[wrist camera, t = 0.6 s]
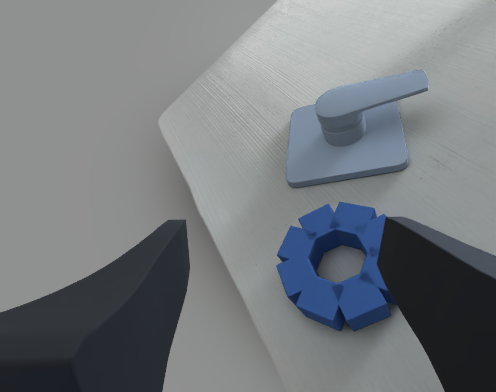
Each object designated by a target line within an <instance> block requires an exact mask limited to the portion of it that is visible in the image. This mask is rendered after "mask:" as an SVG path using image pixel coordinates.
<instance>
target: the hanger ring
mask: <svg viewBox="0 0 496 392" xmlns="http://www.w3.org/2000/svg"><path fill="white" fill-rule="evenodd" d="M385 218H386V215H385V214H383V215H381V216H379V217H376V213H375V209H374V208H371V207H366V206H360V205H355V204H349V203H343V202H339V204H338V206H337V209H336V211H335V213H334V212H333V210H332V208H331V207H330V205H329V204H327V205H325V206H323V207H321V208H319V209H317V210H315V211H312V212H310V213H308V214H306V215H304V216H302V217H300V218H299V221H300V224H301V226H302V228H303V229H302V228H298V227H294V226H290V228H289V230H288V233H287V235H286V237H285V239H284V241H283V243H282V245H281V247H280V249H279V251H278V254H277V256H278V257H279V258H280V260H281V261H282V263H280V264H278V265H277V269H278V272H279V275H280V278H281V280H282V283H283V286H284V289H285V292H286V294H287V297H288V298H289V299H290V300H291V301H292V302H293V303H294V304H295V305H296V307H297V308H298V309H299V310H300V311H301V312H302V313H303V314H304V315H305V316H306V317H308V318H310V319H313V320H315V321H317V322H320V323H322V324H324V325H327V326H329V327H331V328H334V329H336V330H338V331H341V329H342V327H343V324H344V321H345V319H346V321H347V323H348V324H349V326H350V327H351V328H352V330H353V331H356V330H358V329H361V328H363V327H366V326H368V325H370V324H373V323H375V322H377V321H380V320H382V319H384V318H387V317H389V316H391V313H390V310H389V307H388V304H387V302H389V303H392V304H395V305H397V304H396V302H395V301H394V299H393V298H392V296H391V294H390V293H389V291H388V289H387V287H386V285H385V283H384V281H383V279H382V276H381V274H380V271H379V269H378V266H377V260H378V254H379V249H380V244H381V239H382V234H383V228H384V223H385ZM341 244H343V245H347V246H351V247H354V248H358V249H362V251H363V252H364V254H365V255H366V258H365V261H364V264H363V267H362V269H361V272H360V274H358V275H356V276H354V277H351V278H349V279H347V280H345V281H342V282H340V283H335V282H332V281H329V280H326V279H323V278H320V277H319V275H318V273H317V271H316V270H317V268H318V266H319V263H320V261H321V258H322V256H323V254H324V252H326V251H329V250H331V249H333V248H335V247H337V246H339V245H341Z"/></svg>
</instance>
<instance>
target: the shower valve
mask: <svg viewBox="0 0 496 392" xmlns="http://www.w3.org/2000/svg"><path fill="white" fill-rule="evenodd" d="M428 86H429V85H428V77H427V75H426V73H425V72H424V71H423V70H417V71H412V72H408V73H403V74H398V75H393V76H389V77H384V78H379V79H374V80H370V81H365V82H360V83H355V84H350V85H345V86H341V87H337V88H334V89H331V90H329V91H327V92H325V93H324V94H323V95H321V96H320V97H319V98H318V100H317V101H316V103H315V104H313V105H309V106H305V107H302V108H298V109H296V110H294V111H293V112H292V114H291V120H290V132H289V144H288V156H287V168H286V180H287V182H288V183H289V185H290V186H291V187H303V186H309V185H315V184H322V183H328V182H334V181H340V180H346V179H352V178H359V177H365V176H371V175H377V174H383V173H389V172H396V171H400V170H403V169H405V168H406V167H407V165H408V162H409V160H408V152H407V147H406V142H405V138H404V133H403V128H402V123H401V118H400V114H399V109H398V104H397V100H400V99H403V98H407V97H410V96H413V95H416V94H419V93H422V92H425V91H428Z"/></svg>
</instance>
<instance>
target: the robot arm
mask: <svg viewBox="0 0 496 392" xmlns="http://www.w3.org/2000/svg"><path fill="white" fill-rule="evenodd" d="M377 266H378V269H379V271H380V274H381V276H382V279H383V281H384V283H385V285H386V287H387V289H388V291H389V293H390V294H391V296H392V298H393V299H394V301H395V302H396V304H397V306H398V307H399V309H400V311H401V312H402V314H403V315H404V317H405V319H406V320H407V322H408V323H409V325H410V327H411V328H412V330H413V331H414V333H415V335H416V336H417V338H418V339H419V341H420V343H421V344H422V346H423V348H424V350H425V352H426V353H427V355H428V357H429V359H430V361H431V363H432V365H433V367H434V369H435V372H436V374H437V376H438V378H439V380H440V382H441V384H442V386H443V388H444V391H445V392H496V256H494V255H492V254H489V253H487V252H484V251H482V250H480V249H477V248H475V247H472V246H470V245H468V244H465V243H463V242H461V241H458V240H456V239H454V238H452V237H450V236H447V235H445V234H443V233H441V232H439V231H436V230H434V229H432V228H430V227H427V226H425V225H423V224H421V223H418V222H416V221H413V220H411V219H408V218H405V217H386V218H385V223H384V228H383V234H382V239H381V244H380V249H379V254H378V260H377ZM189 271H190V263H189V250H188V239H187V228H186V220H168V221H166V222H165V223H164V224H162V225H161V226H160V227H159V228H158V229H156V230H155V231H154V232H153V233H151V234H150V235H149V236H148V237H146V238H145V239H144V240H143V241H141V242H140V243H139V244H137V245H136V246H135V247H134V248H132V249H131V250H129V251H128V252H126V253H125V254H123V255H122V256H121V257H119V258H118V259H116V260H115V261H113V262H112V263H110V264H108V265H107V266H105V267H104V268H102V269H100V270H98V271H97V272H95V273H93V274H91V275H89V276H88V277H86V278H84V279H82V280H79V281H77V282H75V283H73V284H71V285H69V286H67V287H65V288H63V289H61V290H59V291H56V292H54V293H52V294H49V295H47V296H44V297H42V298H40V299H37V300H34V301H32V302H29V303H27V304H24V305H21V306H19V307H16V308H13V309H10V310H7V311H4V312H1V313H0V392H162V390H163V384H164V378H165V372H166V367H167V361H168V357H169V353H170V348H171V345H172V341H173V338H174V334H175V331H176V327H177V324H178V320H179V317H180V313H181V310H182V306H183V303H184V299H185V295H186V292H187V285H188V278H189Z"/></svg>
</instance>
